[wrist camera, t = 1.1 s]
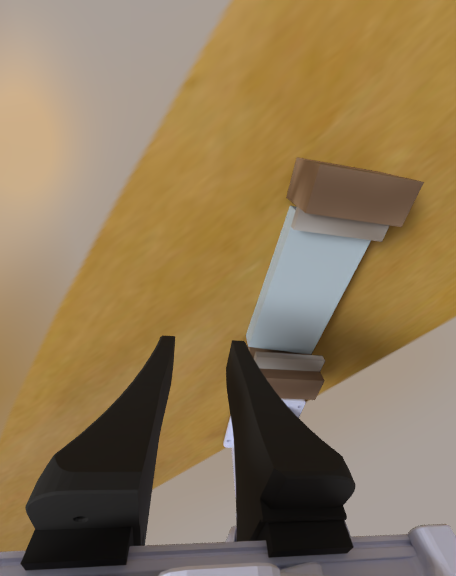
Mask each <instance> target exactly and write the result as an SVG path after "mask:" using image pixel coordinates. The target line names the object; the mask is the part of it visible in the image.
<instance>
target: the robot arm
mask: <svg viewBox="0 0 456 576" xmlns="http://www.w3.org/2000/svg"><path fill="white" fill-rule="evenodd" d="M174 348H175V336H162V337H160V340H159V342H158V344H157V346H156V348H155V350H154V351H153V353H152V355H151V356H150V358H149V359H148V361H147V362H146V364H145V365H144V367H143V368H142V370H141V371H140V372H139V374H138V375H137V376H136V378H135V379H134V380H133V382H132V383H131V384H130V385H129V386H128V388H127V389H126V390H125V391H124V392H123V393H122V395H121V396H120V397H119V398H118V399H117V400H116V401H115V402H114V403H113V404H112V405H111V406H110V407H109V408H108V409H107V410H106V411H105V412H104V413H103V414H102V415H101V416H100V417H99V418H98V419H97V420H96V421H95V422H93V423H92V424H91V425H90V426H89V427H88V428H87V429H86V430H85V431H83V432H82V433H81V434H80V435H79V436H78V437H76V438H75V439H74V440H72V441H71V442H70V443H69V444H67V445H66V446H65V447H64V448H62V449H61V450H60V451H59V452H57V453H56V454H55V455H54V456H53V457H52V459H51V460H50V462H49V463H48V465H47V466H46V468H45V469H44V471H43V473H42V474H41V476H40V478H39V479H38V481H37V483H36V485H35V487H34V490H33V492H32V494H31V496H30V498H29V500H28V502H27V505H26V512H27V515H28V516H29V518H30V520H31V522H32V524H33V526H34V528H35V531H34V533H33V535H32V538H31V540H30V542H29V545H28V547H27V549H26V551H8V552H0V576H456V536H455V535H454V533H453V531H452V530H451V528H450V526H449V525H446V524H437V525H420V526H417V527H415V528H413V529H412V530H410V531H409V532H408V534H403V535H380V536H356V537H351V536H350V533H349V530H348V528H347V525H346V522H345V520H346V518H347V516H346V513H345V510H344V507H343V505H344V504H345V503H346V501H347V500H348V499H349V498H350V497H351V495H352V494H353V492H354V490H355V483H354V480H353V478H352V476H351V473H350V471H349V469H348V467H347V465H346V463H345V461H344V459H343V457H342V456H341V455H340V454H339V453H337V452H336V451H335V450H334V449H332V448H331V447H330V446H329V445H327V444H326V443H325V442H324V441H322V440H321V439H320V438H319V437H318V436H317V435H316V434H315V433H313V432H312V431H311V430H310V429H309V428H308V427H307V426H306V425H305V424H304V423H303V422H302V421H301V420H300V419H299V416H300V414H301V412H302V410H303V408H304V405H305V404H306V402H305V400H304V399H281V398H280V397H279V395H278V394H277V393H276V392H275V390H274V389H273V388H272V386H271V385H270V383H269V382H268V381H267V379H266V378H265V376H264V375H263V373H262V371H261V370H260V368H259V367H258V365H257V363H256V362H255V360H254V358H253V356H252V355H251V353H250V351H249V349H248V347H247V345H246V343H245V342H244V341H234V340H232V344H231V348H230V353H229V358H228V362H227V367H226V382H227V393H228V401H229V408H230V414H231V416H230V420H229V423H228V427H227V431H226V435H225V439H224V442H223V443H224V447H227V448H232V458H233V471H234V483H235V495H236V520H237V526H233V527H231V529H230V531H229V534H228V537H227V539H226V542H219V543H218V542H217V543H194V544H172V545H147V546H145V539H146V531H147V524H148V516H149V508H150V501H151V493H152V486H153V478H154V471H155V464H156V457H157V449H158V442H159V436H160V431H161V426H162V421H163V417H164V413H165V408H166V404H167V400H168V395H169V391H170V386H171V379H172V371H173V362H174Z"/></svg>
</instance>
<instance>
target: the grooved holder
mask: <svg viewBox="0 0 456 576" xmlns="http://www.w3.org/2000/svg"><path fill="white" fill-rule="evenodd" d="M423 183H424V182H421V181H417V180H412V179H408V178H404V177H399V176H395V175H391V174H386V173H382V172H377V171H371V170H365V169H360V168H354V167H348V166H342V165H337V164H331V163H325V162H320V161H314V160H308V159H303V158H297V159H296V162H295V166H294V170H293V174H292V178H291V182H290V186H289V189H288V193H287V197H286V198H288V199H289V200H290V201H291V202H292V203H294V204H295V205H296V206H297V207H296V211H295V214H294V218H293V221H292V225H291V227H292V229H293V230H298V231H306V232H313V233H321V234H328V235H336V236H343V237H351V238H358V239H365V240H373V241H380V242H382V240H383V238H384V236H385V234H386V232H387V230H388V228H389V226H390V225H391V226H398V227H402V225H403V223H404V221H405V219H406V217H407V215H408V213H409V211H410V209H411V207H412V205H413V203H414V201H415V199H416V197H417V195H418V193H419V191H420V189H421V187H422V185H423ZM248 349H249V351H250V353H251V355H252V356H253V358H254V360H255V362H256V363H257V365H258V367H259V368H260V370H261V371H262V373H263V375H264V376H265V378H266V379H267V381H268V382H269V383H270V385H271V386H272V388H273V389H274V390H275V392H276V393H277V394H278V395H279V397H280V398H281V399H305V400H315V399H316V397H317V395H318V393H319V391H320V389H321V387H322V385H323V383H324V379H323V377H322V375H321V373H320V371H321V368H322V366H323V364H324V362H325V360H324V358H323V356H317V355H312V354H303V353H295V352H287V351H279V350H271V349H262V348H254V347H248Z"/></svg>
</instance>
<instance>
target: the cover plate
mask: <svg viewBox="0 0 456 576" xmlns="http://www.w3.org/2000/svg"><path fill="white" fill-rule="evenodd" d="M295 211H296V207H294V206H290V208H289V211H288V213H287V216H286V219H285V222H284V225H283V228H282V231H281V234H280V237H279V240H278V243H277V246H276V249H275V252H274V255H273V257H272V260H271V263H270V266H269V269H268V272H267V275H266V278H265V281H264V284H263V287H262V290H261V293H260V296H259V299H258V301H257V304H256V307H255V310H254V313H253V316H252V319H251V322H250V325H249V328H248V331H247V334H246V338H247V343H248V347H254V348H262V349H271V350H279V351H287V352H295V353H303V354H312V352H313V350H314V348H315V346H316V344H317V342H318V341H319V339H320V337H321V335H322V333H323V331H324V329H325V327H326V325H327V323H328V322H329V320H330V318H331V316H332V314H333V312H334V310H335V308H336V306H337V304H338V302H339V301H340V299H341V297H342V295H343V293H344V291H345V289H346V287H347V285H348V283H349V282H350V280H351V278H352V276H353V274H354V272H355V270H356V268H357V266H358V264H359V262H360V261H361V259H362V257H363V255H364V253H365V251H366V249H367V247H368V245H369V243H370V242H371V240H365V239H358V238H351V237H343V236H336V235H328V234H321V233H313V232H306V231H298V230H293V229H292V227H291V225H292V221H293V218H294V214H295Z"/></svg>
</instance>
